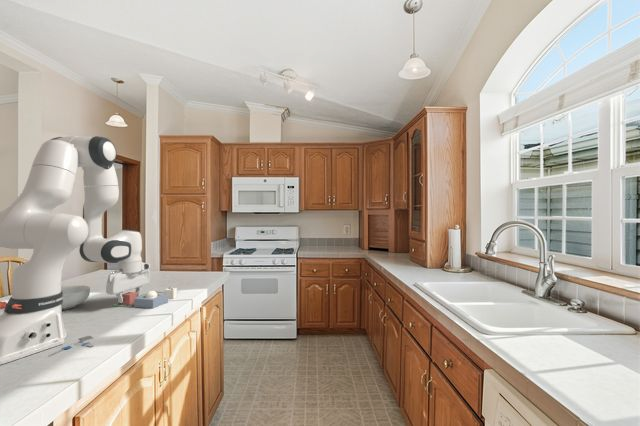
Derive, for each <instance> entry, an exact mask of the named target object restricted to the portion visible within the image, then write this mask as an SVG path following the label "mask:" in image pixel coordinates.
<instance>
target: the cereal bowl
mask: <svg viewBox="0 0 640 426" xmlns="http://www.w3.org/2000/svg"><path fill="white" fill-rule="evenodd" d="M61 291H62V292H63V303H62V306H61V309H62V311H65V310H70V309H73V308H76V307H77V306H78V305H80V304H82V303H83V302H86V300H87V299H88V298H89V296H90V292H91V287H90V286H89V285H67V286H61Z"/></svg>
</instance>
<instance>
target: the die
mask: <svg viewBox="0 0 640 426" xmlns="http://www.w3.org/2000/svg"><path fill="white" fill-rule="evenodd" d="M163 292H164V294H168V300H174V299H176V298H177V297H178V288H177V287H167V288H165V289H164V290H163Z"/></svg>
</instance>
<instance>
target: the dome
mask: <svg viewBox="0 0 640 426" xmlns="http://www.w3.org/2000/svg"><path fill="white" fill-rule="evenodd" d="M146 293H147V294H146ZM146 293H145V294H146V298H155V297H157V293H156V292H155V290H149V291H148V292H146Z"/></svg>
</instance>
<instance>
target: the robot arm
mask: <svg viewBox="0 0 640 426" xmlns="http://www.w3.org/2000/svg"><path fill="white" fill-rule="evenodd" d="M116 159H117V148H116V146H115V144H114V143H113V142H112V141H111V139H109V138H107V137H103V136H99V135H98V136H97V135H96V136H89V135H87V136H86V135H85V136H84V135H82V136H81V135H70V136H64V137H63V136H58V137H54V138H51V139H49V140H46V141H44V142H43V143H42V144H41V146H40V147H39V149H38V151H37V153H36V155H35V157H34V160H33V161H32V165H31V168H30V171H29V174H28V177H27V180H26V182H25V185H24V187H23V189H22V191H21V193H19V196H18V197H17V198H16V199H15V200H14V201H13V202H12V203H11V204H10V205H9V206H8V207H6V208H5V209H3V210H2V211H0V248H4V249H5V248H6V249H11V250H13V249H14V250H24V249H26V250H27V249H28V250H29V249H30V250H31V249H32V250H33V251H32V255H31V257H30V259H29V260H28V261H26V262H24V263H21V264H20V265H18V266H17V267H15V269H14V270H13V271H12V274H11V297H10V298H9V300H8V301H7V302H6V301H0V310H3V313H2V314H0V365H3V364H7V363H10V362H13V361H16V360H19V359H22V358H26V357H28V356H30V355H33V354H36V353H40V352H42V351H45V350H48V349H51V348H55V347H57V346H60V345H63V344H64V343H65V339H66V338H67V337H68V333H67V330H66V328H65V323H64V319H63V310H62V309H61V306H62V303H63V292H62V291H61V287H62V281H63V279H62V278H63V270H64V265H65V263H66V261H67V258H68V257H69V256H70V254H72V252H73V251H74V250H75V249H76V248H78V247H79V249H78V250H79V254H80V257H81V259H83V260H84V261H86V262H90V263H105V264H113V263H114V264H115V263H117V267H116V268H117V270H113V271H111V272H110V273H109V274H108V278H107V281H106V288H105V293H106V294H107V295H115V296H116V297H117V303H122V302H124V301H125V298H123V297H122V294H124V292H127V291H131V290H133V289H135V291H134V293H137V297H139V296H140V293H141V291H142V289H143V286H146V285H149V284H150V281H151V270H150V269H151V263H147V262H143V258H142V252H143V251H142V250H143V238H142V234H141V232H140V231H138V230H132V229H121V230H119V232H117V233H116V234H115V235H112V236H111V237H108V238H104V237H103V232H102V231H103V230H102V228H103V224H102V220H103V215H104V214H105V213H106V211H107V210H108V209H109V210H110V208H112V207H113V206H115V205H116V204H117V202H119V198H120V197H119V196H120V190H119V189H120V188H119V187H120V186H119V181H118V175H117V172H116V168H115V165H114V163H115V161H116ZM78 168H82V171H83V176H82V177H83V190H84V203H83V206H82V207H83V208H82V216H80V215H75V214H70V213H65V212H52V211H53V210H54V209H55V208H56V207H58V206H60V205H62V204H64V203H67V202H68V201H69V200H70V199H71V196H72V194H73V191H74V185H75V182H76V177H77V173H78Z"/></svg>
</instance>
